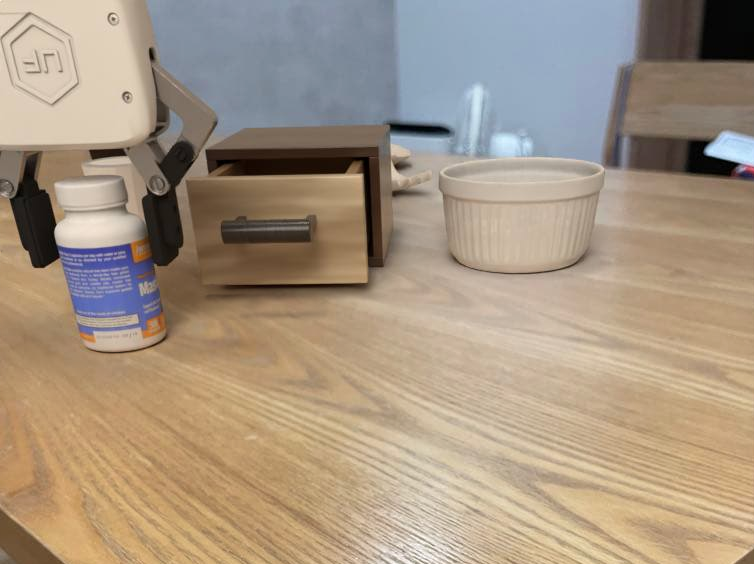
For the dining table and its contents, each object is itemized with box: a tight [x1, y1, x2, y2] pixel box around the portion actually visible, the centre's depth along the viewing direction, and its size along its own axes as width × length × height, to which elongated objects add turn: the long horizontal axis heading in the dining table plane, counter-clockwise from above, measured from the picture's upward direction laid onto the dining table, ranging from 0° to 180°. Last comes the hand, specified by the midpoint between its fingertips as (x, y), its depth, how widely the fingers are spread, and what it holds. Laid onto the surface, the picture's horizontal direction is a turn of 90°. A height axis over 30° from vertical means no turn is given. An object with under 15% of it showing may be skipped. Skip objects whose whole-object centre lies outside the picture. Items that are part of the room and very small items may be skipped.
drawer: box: [185, 157, 372, 286], centre depth 61 cm, size 18×12×7 cm
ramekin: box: [438, 156, 606, 274], centre depth 66 cm, size 13×13×7 cm
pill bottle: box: [53, 175, 167, 353], centre depth 50 cm, size 5×5×10 cm
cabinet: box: [204, 124, 394, 268], centre depth 70 cm, size 15×14×9 cm
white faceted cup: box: [80, 156, 147, 229], centre depth 75 cm, size 7×7×7 cm
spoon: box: [391, 143, 433, 192], centre depth 102 cm, size 9×32×4 cm, turn 5°
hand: (107, 259), depth 50 cm, fingers open, 6 cm apart
